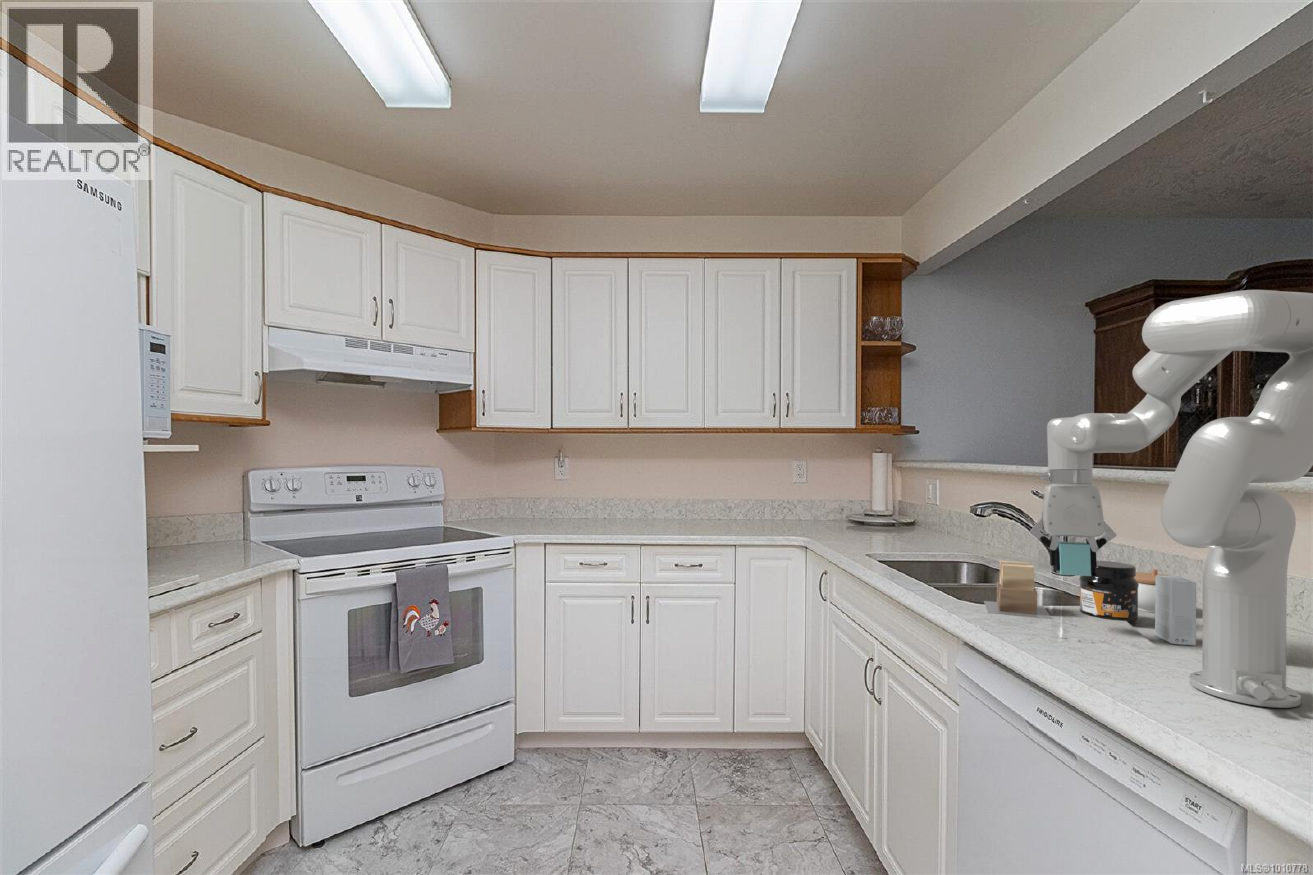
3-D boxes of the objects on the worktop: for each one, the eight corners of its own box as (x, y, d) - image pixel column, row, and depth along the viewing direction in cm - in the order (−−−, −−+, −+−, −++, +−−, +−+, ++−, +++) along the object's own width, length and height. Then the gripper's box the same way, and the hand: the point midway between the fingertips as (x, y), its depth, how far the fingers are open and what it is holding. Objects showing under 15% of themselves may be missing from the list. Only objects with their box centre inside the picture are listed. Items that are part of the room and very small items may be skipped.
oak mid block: (1034, 590, 141) (1034, 567, 141) (1002, 588, 143) (1002, 565, 143) (1029, 585, 146) (1029, 562, 146) (999, 582, 149) (999, 560, 149)
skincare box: (1197, 646, 123) (1197, 582, 123) (1171, 644, 124) (1171, 581, 124) (1178, 637, 129) (1178, 576, 129) (1153, 635, 130) (1154, 574, 130)
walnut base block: (1036, 614, 140) (1037, 591, 140) (1000, 611, 143) (1000, 588, 143) (1031, 607, 147) (1032, 585, 147) (996, 604, 149) (996, 582, 149)
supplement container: (1077, 620, 140) (1077, 564, 141) (1081, 611, 149) (1081, 558, 149) (1138, 629, 134) (1138, 570, 134) (1138, 618, 143) (1138, 563, 143)
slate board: (1052, 624, 137) (1052, 619, 137) (988, 618, 141) (988, 612, 141) (1042, 611, 148) (1042, 606, 148) (983, 605, 152) (983, 600, 152)
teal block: (1091, 576, 127) (1089, 545, 128) (1061, 574, 129) (1060, 543, 129) (1085, 572, 132) (1084, 542, 132) (1056, 571, 134) (1055, 541, 134)
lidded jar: (1128, 602, 158) (1128, 563, 158) (1185, 610, 151) (1185, 569, 151) (1123, 611, 149) (1123, 569, 150) (1183, 619, 142) (1183, 576, 143)
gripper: (1024, 479, 131) (1027, 570, 130) (1126, 479, 125) (1130, 576, 124) (1019, 478, 138) (1022, 566, 137) (1115, 479, 132) (1119, 570, 131)
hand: (1073, 569), depth 131 cm, fingers closed on teal block, 5 cm apart
